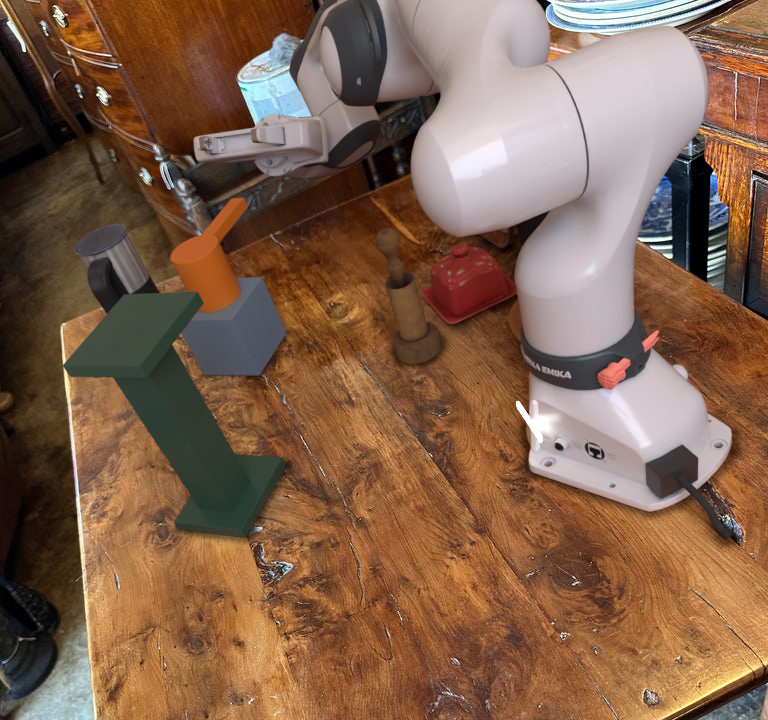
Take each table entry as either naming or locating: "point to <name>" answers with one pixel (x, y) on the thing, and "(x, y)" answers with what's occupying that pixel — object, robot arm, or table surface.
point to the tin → (502, 236)
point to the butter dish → (466, 284)
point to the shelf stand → (177, 410)
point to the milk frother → (113, 265)
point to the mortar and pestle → (407, 306)
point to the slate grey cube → (237, 333)
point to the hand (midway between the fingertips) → (227, 139)
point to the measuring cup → (210, 261)
